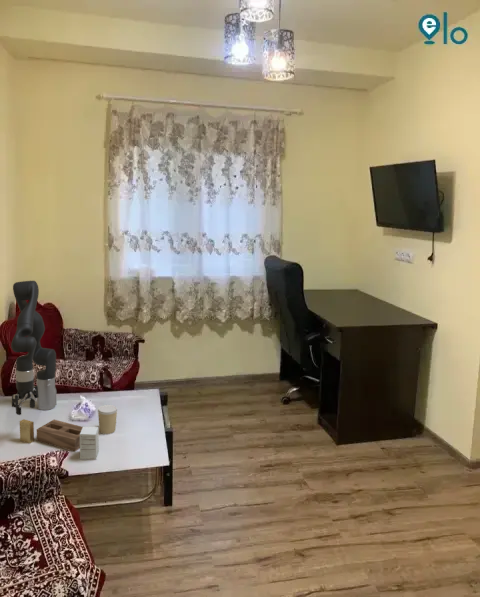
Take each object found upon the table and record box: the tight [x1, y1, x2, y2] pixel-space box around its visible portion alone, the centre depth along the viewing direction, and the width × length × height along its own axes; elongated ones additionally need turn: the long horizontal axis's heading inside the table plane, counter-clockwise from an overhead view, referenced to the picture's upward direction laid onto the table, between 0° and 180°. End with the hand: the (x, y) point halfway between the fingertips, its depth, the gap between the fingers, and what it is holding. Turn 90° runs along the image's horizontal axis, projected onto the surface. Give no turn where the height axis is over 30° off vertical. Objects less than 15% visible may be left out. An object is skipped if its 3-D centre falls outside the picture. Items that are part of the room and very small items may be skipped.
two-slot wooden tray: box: [36, 419, 84, 452], centre depth 249 cm, size 12×22×6 cm, turn 69°
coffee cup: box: [97, 404, 118, 435], centre depth 261 cm, size 9×9×12 cm
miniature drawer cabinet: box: [79, 426, 100, 461], centre depth 237 cm, size 7×7×13 cm
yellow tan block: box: [19, 418, 35, 444], centre depth 247 cm, size 2×6×10 cm, turn 69°
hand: (25, 411), depth 244 cm, fingers open, 8 cm apart
